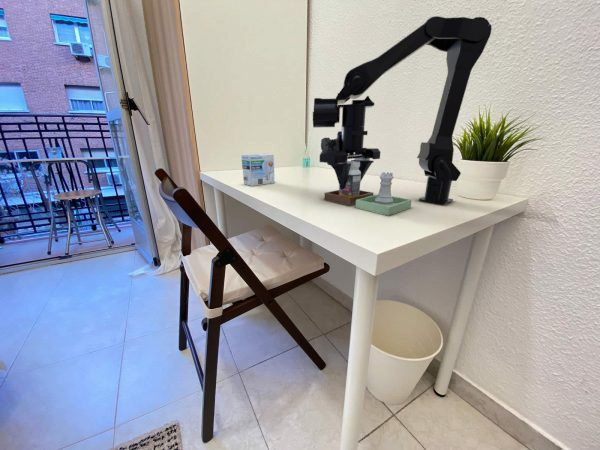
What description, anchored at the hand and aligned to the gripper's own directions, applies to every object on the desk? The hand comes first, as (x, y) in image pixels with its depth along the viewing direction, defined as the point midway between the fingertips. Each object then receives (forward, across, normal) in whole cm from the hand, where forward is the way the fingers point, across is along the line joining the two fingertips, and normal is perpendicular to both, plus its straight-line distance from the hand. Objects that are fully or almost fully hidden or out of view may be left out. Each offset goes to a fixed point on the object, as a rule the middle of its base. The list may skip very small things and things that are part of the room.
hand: (349, 187), depth 68 cm
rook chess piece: (+3, 0, +11) cm, 11 cm away
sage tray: (+4, 0, +11) cm, 11 cm away
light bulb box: (+4, +5, -40) cm, 41 cm away
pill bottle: (+3, 0, 0) cm, 3 cm away
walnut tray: (+4, 0, 0) cm, 4 cm away
